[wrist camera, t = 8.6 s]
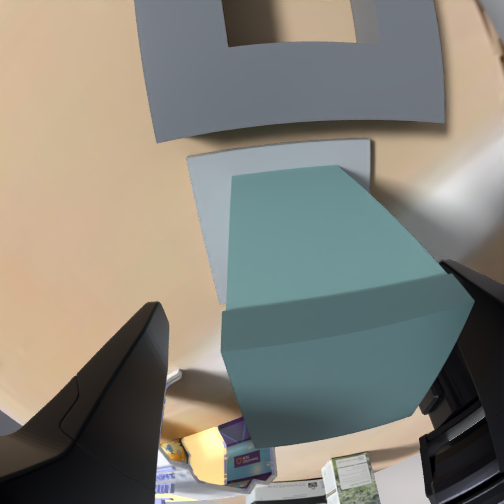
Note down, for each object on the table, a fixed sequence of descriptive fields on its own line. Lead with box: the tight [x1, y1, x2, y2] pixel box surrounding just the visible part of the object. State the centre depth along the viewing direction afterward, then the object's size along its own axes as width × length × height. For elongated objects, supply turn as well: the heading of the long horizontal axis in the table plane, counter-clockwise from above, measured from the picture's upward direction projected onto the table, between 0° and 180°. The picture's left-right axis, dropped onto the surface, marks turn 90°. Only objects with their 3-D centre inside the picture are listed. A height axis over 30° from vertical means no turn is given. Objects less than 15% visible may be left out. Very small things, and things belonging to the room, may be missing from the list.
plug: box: [221, 165, 475, 449], centre depth 8 cm, size 4×4×8 cm
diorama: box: [155, 369, 277, 504], centre depth 18 cm, size 25×10×13 cm, turn 132°
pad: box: [186, 138, 370, 304], centre depth 12 cm, size 7×7×1 cm
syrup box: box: [321, 452, 381, 504], centre depth 26 cm, size 6×6×14 cm
